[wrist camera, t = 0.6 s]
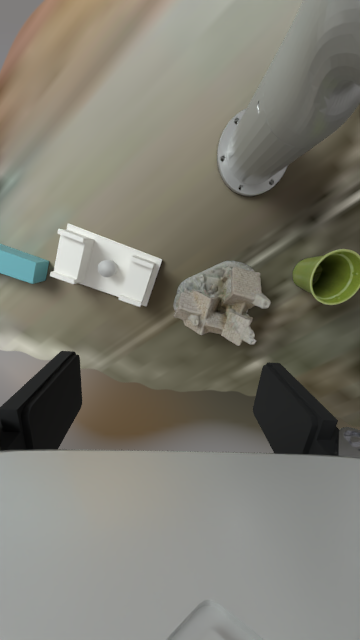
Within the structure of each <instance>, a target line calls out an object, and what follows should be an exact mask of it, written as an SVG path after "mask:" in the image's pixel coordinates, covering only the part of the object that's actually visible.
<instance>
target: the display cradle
mask: <svg viewBox="0 0 360 640" xmlns="http://www.w3.org/2000/svg"><path fill="white" fill-rule="evenodd" d="M58 234H61V235H60V241H59V246H58V251H57V257H56V262H55V267H54V271H52V272H51V273H50V276H51V277H54V278H57V279H60V280H63V281H66V282H69V283H72V284H75V283H79V284H82V285H85V286H88V287H91V288H94V289H97V290H100V291H103V292H106V293H108V294H111V295H114V296H117V297H119V299H118V300H121V301H124V302H127V303H130V304H133V305H136V306H139V307H140V306H141V305H143V306H147V304H148V301H149V298H150V295H151V292H152V289H153V286H154V283H155V280H156V277H157V274H158V271H159V268H160V265H161V262H162V259H160V258H157V257H155V256H152V255H149V254H147V253H144V252H142V251H139V250H136V249H134V248H131V247H129V246H126V245H124V244H121V243H118V242H116V241H113V240H111V239H108V238H105V237H103V236H100V235H98V234H95V233H92V232H90V231H87V230H85V229H82V228H79V227H77V226H74V225H72V224H68V226H67V230H63V229H58Z"/></svg>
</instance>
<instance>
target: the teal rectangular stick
mask: <svg viewBox="0 0 360 640" xmlns="http://www.w3.org/2000/svg"><path fill="white" fill-rule="evenodd" d="M48 265H49V261H47V260H44V259H42V258H39V257H36V256H33V255H30V254H28V253H25V252H22V251H19V250H16V249H14V248H11V247H8V246H5V245H2V244H0V273H1V274H4V275H7V276H10V277H13V278H16V279H19V280H22V281H25V282H28V283H31V284H34V283H38V282H42V281H46V276H47V270H48Z"/></svg>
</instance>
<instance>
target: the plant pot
mask: <svg viewBox="0 0 360 640" xmlns="http://www.w3.org/2000/svg"><path fill="white" fill-rule="evenodd" d="M316 276H317V278H316V280H315V281H313V280H314V279H315V277H316ZM293 281H294V283H295V284H296V285H297V286H298V287H300V288H302V289H304V290H306V291H308V292H309V293H311V294H312V295H313V297H314V298H315V299H316V300H317V301H319V302H321V303H323V304H327V305H335V304H339V303H342V302H344V301H346V300H348V299H349V298H351V297H352V296H353V295H354V294H355V293H356V292H357V290H358V289H359V288H360V255H359V254H357V253H356V252H354V251H352V250H348V249H339V250H334V251H332V252H330V253H328V254H326V255H324V256H318V257H312V258H306V259H304V260H301V261H300V262H299V263H298V264H297V265H296V266H295V268H294V270H293Z"/></svg>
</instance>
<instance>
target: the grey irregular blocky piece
mask: <svg viewBox="0 0 360 640" xmlns="http://www.w3.org/2000/svg"><path fill="white" fill-rule="evenodd" d="M260 275H261V274H260V273H258V272H255V271H254V270H253V269H252V268H251V267H250V266H248V265H246V264H244V263H241V262H236V261H224V262H222V263H220V264H217V265H215V266H213V267H211V268H209V269H207V270H204V271H203V272H201V273H198V274H196V275H194V276H192V277H190V278H187V279H186V280H184V281H183V282H182V283H181V284H180V286H179V288H178V290H177V295H176V297H175V300H174V309H175V313H174V317H176V318H180V319H182V320H183V321H184V324H185V326H187V327H189V328H190V329H192V330H194V331H195V332H197V333H198V334H200V335H203V334H205V333H208V332H212V333H216V334H221V336H223V337H225V338H226V339H227V340H229V341H231V342H233V343H235V344H236V345H238V346H239V345H241V342H242V341H245V342H247V343H248V344H253V345H254V344H255V342H256V340H255V339H254V337H255V334H254V332H253V330H251V327H250V324H251V322H252V320H253V317H250V316H249V315H248V314H246V313H247V312H248V309H250V308H252V307H254V306H258V307H260V308H262V309H266V308H268V307H269V306H270V304H271V302H270V300H269V299H268V298H267V297H266V296H265V295H264V294H263V293H262V292H261V282H260V281H261V279H260Z"/></svg>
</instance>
